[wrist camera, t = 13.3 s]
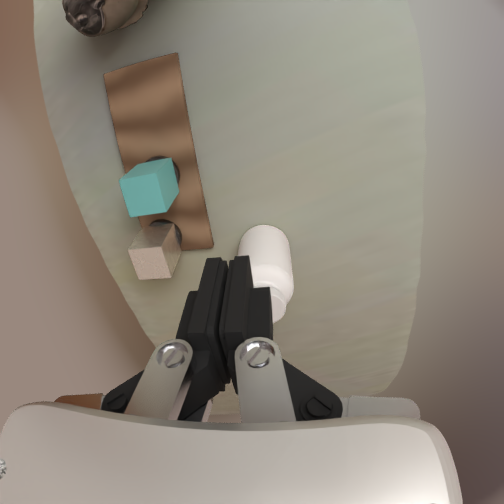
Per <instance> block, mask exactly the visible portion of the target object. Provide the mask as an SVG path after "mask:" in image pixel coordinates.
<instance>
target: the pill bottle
mask: <svg viewBox="0 0 504 504" xmlns="http://www.w3.org/2000/svg"><path fill="white" fill-rule="evenodd" d="M245 255H249V257H250V264H251V271H252V278H253V285H254V288H258V287H270V291H271V301H272V317H273V323H274V322H276V321H278V320H280V319H281V318H282V317H283V315H284V314H285V311H286V304H287V303H288V302H289V301H290V299H291V297H292V294H293V291H294V282H293V273H292V264H291V255H290V247H289V242H288V239H287V237H286V236H285V234H284V233H283V232H282V231H281V230H279V229H278V228H276V227H273V226H270V225H259V226H255V227H253V228H251V229H249V230H248V231H247V232H246V233H245V234H244V235H243V236H242V238H241V241H240V244H239V250H238V256H245Z"/></svg>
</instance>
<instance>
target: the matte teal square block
mask: <svg viewBox="0 0 504 504" xmlns="http://www.w3.org/2000/svg"><path fill="white" fill-rule="evenodd" d="M119 183H120V187H121V190H122V193H123V197H124V200H125V203H126V206H127V209H128V212H129V215H130V217H136V216H143V215H149V214H156V213H163V212H167V210H168V209H169V207H170V206H171V204H172V203H173V201H174V199H175V198H176V196H177V195H178V193H179V188H178V184H177V180H176V175H175V171H174V167H173V162H172V158H166V159H160V160H155V161H150V162H146V163H141V164H137V165H136V166H135V167H134V168H133V169H131V170H130V171H129V172H128V173H127V174H125V175H124V176H123V177H122V178H121V179H120V180H119Z"/></svg>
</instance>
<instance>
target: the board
mask: <svg viewBox="0 0 504 504" xmlns="http://www.w3.org/2000/svg"><path fill="white" fill-rule="evenodd" d="M103 75H104V80H105V86H106V91H107V96H108V101H109V106H110V111H111V115H112V120H113V124H114V129H115V133H116V137H117V142H118V146H119V150H120V154H121V158H122V162H123V165H124V169H125V173H126V174H127V173H128V172H129V171H130V170H131V169H133V168H134V167H135V166H136V165H137V164H141V163H145V162H146V161H147V160H148V159H150V158H151V157H154V156H166V157H168V158H172V160H173V161H174V162H175V163H176V165H177V166H178V168H179V171H180V181H179V184H178V188H179V193H178V195H177V196H176V198H175V199H174V201H173V203H172V204H171V206H170V207H169V209H168V210H167V212H163V213H156V214H149V215H143V216H138V218H139V221H140V224H141V227H142V228H143V227H146V226H149V225H150V224H151V223H152V222H153V221H155V220H158V219H166V220H169V221H171V222H173V223H175V224H176V225H177V226H178V227H179V229H180V231H181V233H182V242H181V245H180V248H181V250H191V249H202V248H213V246H214V242H213V238H212V233H211V229H210V224H209V219H208V214H207V210H206V205H205V200H204V195H203V190H202V185H201V180H200V175H199V170H198V165H197V160H196V155H195V149H194V144H193V139H192V133H191V128H190V122H189V117H188V111H187V105H186V100H185V94H184V88H183V82H182V76H181V70H180V63H179V57H178V53H173V54H169V55H165V56H161V57H157V58H153V59H150V60H146V61H143V62H139V63H136V64H133V65H130V66H126V67H123V68H120V69H117V70H114V71H111V72H109V73H106V74H103Z"/></svg>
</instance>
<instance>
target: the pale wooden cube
mask: <svg viewBox="0 0 504 504" xmlns="http://www.w3.org/2000/svg"><path fill="white" fill-rule="evenodd" d="M181 242H182V233H181V231H180V229H179V227H178V226H177V225H176V224H175V223H173V222H171V221H169V220H166V219H158V220H155V221H153V222H152V223H151V224H150V225H149V226H146V227H143V228H142V229H141V230H140V232H139V233H138V235H137V236H136V238H135V239H134V241H133V242H132V244H131V246H130V247H129V249H128V252H129V255H130V258H131V260H132V263H133V265H134V268H135V271H136V273H137V276H138V278H139V280H143V279H159V278H171V277H172V275H173V272H174V270H175V267H176V265H177V262H178V260H179V257H180V255H181V248H180V245H181Z"/></svg>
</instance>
